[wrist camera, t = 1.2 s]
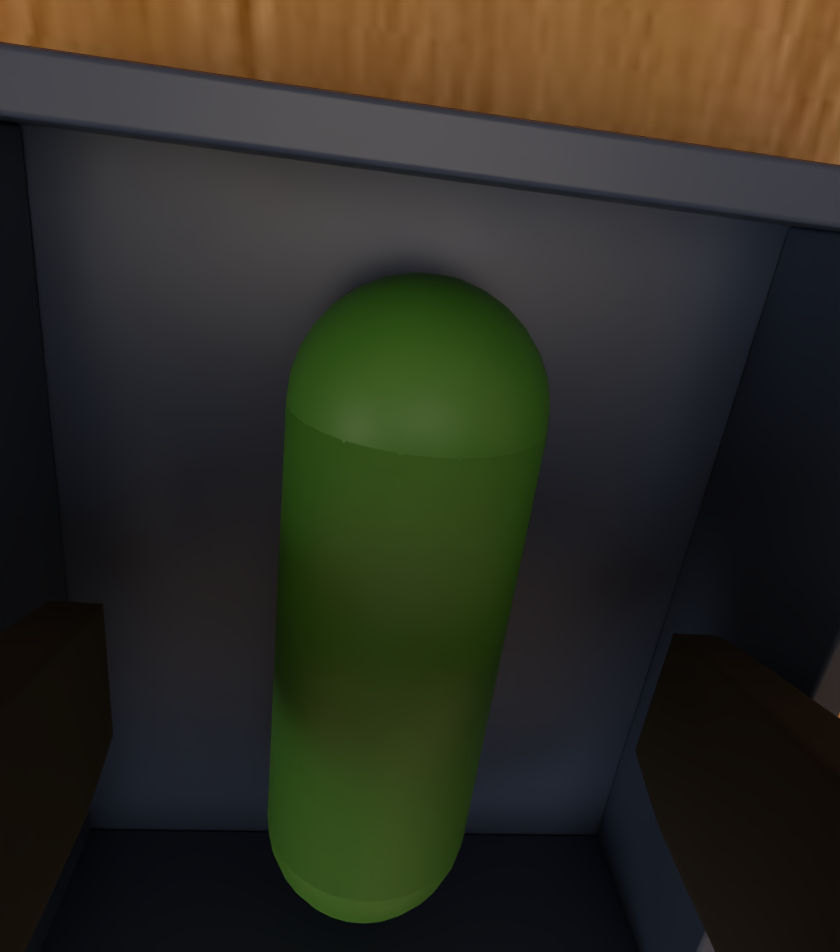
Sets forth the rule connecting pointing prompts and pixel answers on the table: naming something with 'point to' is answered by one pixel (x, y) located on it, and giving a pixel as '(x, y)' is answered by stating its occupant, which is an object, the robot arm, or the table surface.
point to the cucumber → (395, 582)
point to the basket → (261, 470)
